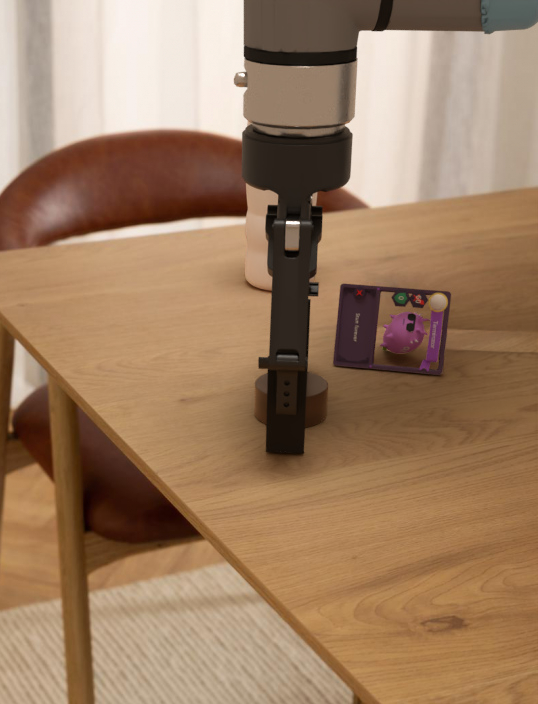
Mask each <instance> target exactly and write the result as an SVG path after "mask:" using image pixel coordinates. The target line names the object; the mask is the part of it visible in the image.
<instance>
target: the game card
mask: <svg viewBox="0 0 538 704" xmlns="http://www.w3.org/2000/svg"><path fill="white" fill-rule="evenodd" d="M381 293H393V295H391V300H392V303H393V304H394V306H395V307H400V308H406V306H407V305H408V304H409V302H410V304H411V307H412V308H415V309H424V307H425V306H426V305H427V303H428V305H427V306H428V307H429V309H430V310H431V311H430V319H429V318H425V317H424V316H422V315H424V313H423V312H422V313H419V314H418V311H416V312H412V311H402V312H399V313H398V314H389V317H390V318H391V319H392V320H391V322H390V323H389V324H383V325H382V327H383V328H384V329H385V330H384V333H383V335H382V343H380V344H379V347H381V350H382V351H384V352H387V351H388V352H390V353H393V354H397V355H402V354H408V353H411V352H413V351H415V350H416V349H417V348H419V347H420V346H421V344H423V341H424V338H425V336H428V340H427V341H428V342H427V349H426V355H425V359H422V361H421V363H420V366H419V367H414V366H413V367H412V366H401V365H391V364H379V363H374V361H375V354H376V351H375V350H376V345H377V344H376V343H377V332H378V322H379V313H380V305H381V304H380V302H381ZM409 294H410V295H409ZM428 296H430V297H429V298H428ZM338 297H339V298H338V307H337V315H336V317H337V318H336V328H335V338H334V346H333V347H334V350H333V358H332V360H333V361H332V364H333V365H334V366H339V367H349V368H350V367H351V368H360V369H361V368H362V369H373V370H383V371H392V372H405V373H416V374H425V375H434V376H435V375H436V376H437V375H438V376H441V375H443V372H444V364H445V357H446V355H445V354H446V346H447V337H448V336H447V335H448V328H449V327H448V326H449V319H450V318H449V317H450V310H451V309H450V308H451V300H452V293H451V292H450V291H446V290H435V289H434V290H433V289H423V288H422V289H421V288H409V287H408V288H406V287H395V286H394V287H393V286H383V285H382V286H380V285H369V284H354V283H341V284H340V285H339V295H338ZM424 322H430V325H429V334H428V332H427V331H426V330H425V325H424ZM432 363H438V364H437V369H434V368H433V369H432V368H430V366H431V364H432Z"/></svg>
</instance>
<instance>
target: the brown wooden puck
mask: <svg viewBox="0 0 538 704" xmlns="http://www.w3.org/2000/svg"><path fill="white" fill-rule="evenodd" d="M267 380H268V372H266V373H263V374H261V375H260V376H258V377H257V378H256V379H255V381H254V411H253V412H254V417H255V418H256V419H257V420H258V421H259V422H261V423H263V424H265V425H266V421H267ZM328 392H329V383H328V381H327V379H326V378H324V377H323V376H322V375H319V374H318V373H314V372H312V371H308V372H307V391H306V416H305V428H310V427H313V426H316V425H319V424H321V423H322V422H323V421H325V419H326V417H327V416H328Z"/></svg>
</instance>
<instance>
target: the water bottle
mask: <svg viewBox="0 0 538 704" xmlns="http://www.w3.org/2000/svg"><path fill="white" fill-rule="evenodd" d="M250 124H252V123H251V122H249V121H248V120H247V123H246V127H247V126H248V125H250ZM245 192H246V206H247V211H246V215H245V228H244V229H245V230H244V231H245V240H246V249H245V255H244V256H245V257H244V277H245V280H246V281H247V282H248V284H250V285H251V286H253V287H255V288H257V289H260V290H265V291H269V292H272V277H271V276H270V275H269V274H268V271H267V255H268V241H267V239H266V234H265V223H266V214H267V206H268V205H278V194H276V193H275V192H273V191H270V190H265V191H263V190H259V189H256V188H254V187H251V186H250V185H248V184H247V183H246V182H245ZM317 200H318V192H316V193H314V194H313V197H312V206H317ZM315 278H316V275H315V276H314V277H312V278H311V279H310V280H309V282H315Z"/></svg>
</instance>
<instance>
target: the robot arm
mask: <svg viewBox="0 0 538 704" xmlns="http://www.w3.org/2000/svg"><path fill="white" fill-rule="evenodd" d="M537 24H538V0H243V57H244V59H243V68H244V70H245V71H240V72H239V71H238V72H236V73H234V74H235V75H234V77H233V85H235V87H237V88H246V89H245V91H244V93H243V94H242V116H243V118H244V119H246V120H247V122H248V121H249V122H251V123H252V124H250V125H248V126H247V125H246V127H244V128H245V129H243V131H242V132H241V178H242V180H243V181H244V183H245V184H246V183H247V184H248V185H250V186H251V187H254V188H256V189H259V190H263V191H265V190H270V191H273V192H275V193H276V194H278V205H268V206H267V214H266V223H265V234H266V239H267V241H268V255H267V271H268V274H269V275H270V276H271V277H272V291H271V296H270V297H271V300H270V301H271V302H270V323H269V324H270V325H269V348H268V355H267V356H258V360H257V361H258V362H257V363H258V364H257V367H258V369H259V370H267V373H268V380H267V421H266V424H265V425H266V426H265V453H288V454H305V438H306V437H305V436H306V434H305V433H306V427H305V416H306V391H307V372H309V349H310V348H309V347H310V322H311V301H312V300H311V298H309V297H317V298H318V297H319V291H320V290H319V289H320V287H319V286H320V282H318V281H317V282H316V281H313V282H309V280H310V279H311V278H312V277H314V276H315V277H316V275H317V272H318V250H319V249H318V248H319V243H320V242H321V241H322V238H323V217H324V216H323V207H324V206H323V205H316V206H312V197H313V194H314V193H316V192H317V193H319V192H323V193H327V192H332V191H335V190H338V189H340V188H343V187H345V185H347V184H348V182H349V181H350V179H351V172H352V155H353V132H352V131H351V130H350V128H349V127H347V124H350V123H351V121H353V120H354V118H355V117H356V95H357V77H358V41H359V34H360V32H363V31H364V32H367V31H370V32H384V31H411V32H414V31H415V32H416V31H419V32H421V31H422V32H478V33H479V32H481V33H482V32H483V34H484V35H492V34H493V33H495V32H505V31H507V32H508V31H523V30H528V29H531V28H532V27H534V26H535V25H537Z"/></svg>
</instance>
